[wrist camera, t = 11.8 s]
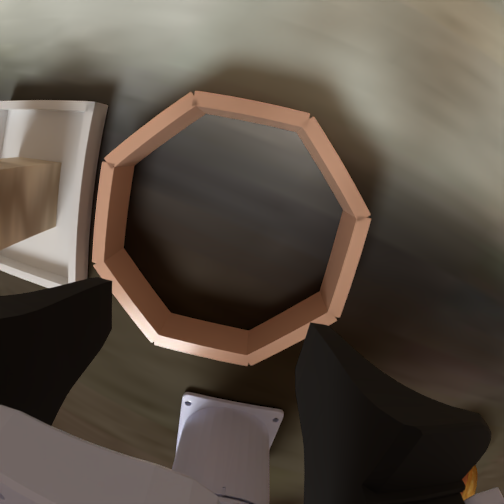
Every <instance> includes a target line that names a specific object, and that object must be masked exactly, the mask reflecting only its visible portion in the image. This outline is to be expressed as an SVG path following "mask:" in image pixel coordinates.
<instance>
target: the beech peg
mask: <svg viewBox="0 0 504 504" xmlns="http://www.w3.org/2000/svg"><path fill="white" fill-rule="evenodd" d="M61 164H62V163H61V162H53V161H46V160H38V159H30V158H22V157H13V158H2V159H0V250H2V249H4V248H7V247H9V246H11V245H13V244H16V243H18V242H20V241H23V240H25V239H27V238H29V237H32V236H34V235H37V234H39V233H41V232H44V231H46V230H49V229H51V228H54V227H56V216H57V202H58V190H59V181H60V172H61Z"/></svg>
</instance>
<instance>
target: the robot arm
mask: <svg viewBox="0 0 504 504" xmlns="http://www.w3.org/2000/svg"><path fill="white" fill-rule="evenodd" d="M111 329H112V281H110V280H107V279H103V278H99V277H96V278H89V279H84V280H80V281H76V282H72V283H68V284H64V285H60V286H57V287H52V288H48V289H43V290H39V291H35V292H29V293H23V294H16V295H8V296H0V504H269V449H270V447H271V445H272V443H273V440H274V438H275V436H276V433H277V431H278V429H279V426H280V424H281V422H282V419H283V417H284V412H283V411H282V410H281V409H276V408H269V407H263V406H257V405H251V404H245V403H240V402H234V401H229V400H224V399H219V398H214V397H210V396H205V395H201V394H196V393H192V392H185V393H184V394H183V397H182V405H181V413H180V421H179V429H178V437H177V446H176V455H175V459H174V463H173V467H172V470H171V469H169V468H166V467H164V466H161V465H159V464H155V463H152V462H148V461H145V460H141V459H138V458H134V457H131V456H128V455H125V454H122V453H119V452H116V451H113V450H110V449H107V448H104V447H101V446H99V445H96V444H93V443H91V442H88V441H85V440H83V439H80V438H78V437H75V436H73V435H71V434H68V433H66V432H64V431H61V430H59V429H57V428H55V427H52V426H51V425H52V423H53V421H54V419H55V417H56V415H57V413H58V411H59V409H60V407H61V405H62V403H63V401H64V400H65V398H66V396H67V394H68V393H69V391H70V390H71V388H72V387H73V385H74V384H75V383H76V381H77V380H78V379H79V377H80V376H81V375H82V373H83V372H84V371H85V369H86V368H87V367H88V365H89V364H90V363H91V361H92V360H93V359H94V357H95V356H96V355H97V353H98V352H99V351H100V349H101V348H102V346H103V344H104V342H105V341H106V339H107V337H108V335H109V333H110V331H111ZM295 391H296V398H297V404H298V411H299V417H300V423H301V429H302V435H303V443H304V465H305V481H304V504H504V498H503V496H502V494H501V492H500V490H499V489H498V488H493V489H490V490H487V491H484V492H481V493H478V494H475V495H472V496H470V497H469V498H467V499H465V500H463V498H462V495H461V492H463V491H464V490H465V487H466V486H465V484H464V482H463V480H462V479H463V478H464V477H465V476H466V474H467V473H468V472H469V471H470V470H471V469H472V468H473V467H474V465H475V464H476V463H477V462H478V461H479V459H480V458H481V457H482V456H483V454H484V453H485V451H486V450H487V448H488V445H489V443H490V440H491V431H490V429H489V427H488V426H487V424H486V423H485V421H484V420H483V418H482V417H481V415H480V414H478V413H475V412H471V411H467V410H463V409H460V408H456V407H452V406H449V405H446V404H444V403H441V402H438V401H436V400H433V399H431V398H428V397H426V396H424V395H422V394H420V393H418V392H416V391H414V390H412V389H410V388H408V387H406V386H404V385H402V384H401V383H399V382H397V381H396V380H394V379H393V378H391V377H389V376H388V375H386V374H385V373H383V372H382V371H381V370H379V369H378V368H376V367H375V366H374V365H373V364H371V363H370V362H369V361H368V360H366V359H365V358H364V357H363V356H362V355H360V354H359V353H358V352H357V351H356V350H355V349H354V348H353V347H351V346H350V345H349V344H348V343H347V342H346V341H345V340H344V339H343V338H342V337H341V336H339V335H338V334H337V333H336V332H335V331H334V330H333V329H332V328H330V327H329V326H327V325H324V324H318V323H311V322H310V325H309V328H308V331H307V334H306V337H305V341H304V344H303V347H302V350H301V353H300V356H299V359H298V362H297V365H296V368H295ZM187 401H189V402H190V403H188V402H187ZM274 418H278V419H274Z"/></svg>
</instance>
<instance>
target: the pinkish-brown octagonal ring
mask: <svg viewBox="0 0 504 504" xmlns="http://www.w3.org/2000/svg"><path fill="white" fill-rule="evenodd" d="M205 114H210V115H216V116H222V117H227V118H233V119H238V120H243V121H248V122H253V123H258V124H262V125H267V126H272V127H276V128H280V129H285V130H289V131H293V132H297V134H298V136H299V137H300V139H301V140H302V142H303V143H304V145H305V147H306V148H307V150H308V151H309V153H310V155H311V156H312V158H313V160H314V161H315V163H316V164H317V166H318V168H319V169H320V171H321V173H322V174H323V176H324V178H325V180H326V181H327V183H328V185H329V186H330V188H331V190H332V192H333V193H334V195H335V197H336V199H337V200H338V202H339V204H340V206H341V207H342V209H343V212H342V215H341V219H340V223H339V226H338V230H337V234H336V237H335V241H334V244H333V248H332V251H331V255H330V258H329V262H328V265H327V268H326V272H325V275H324V278H323V281H322V285H321V288H320V291H319V292H317V293H316V294H314V295H312V296H310V297H309V298H307V299H305V300H303V301H302V302H300V303H298V304H296V305H294V306H293V307H291V308H289V309H287V310H286V311H284V312H282V313H280V314H278V315H277V316H275V317H273V318H271V319H269V320H267V321H266V322H264V323H262V324H260V325H258V326H256V327H254V328H253V329H251V330H244V329H239V328H234V327H230V326H225V325H221V324H216V323H212V322H207V321H203V320H199V319H194V318H190V317H186V316H182V315H178V314H174V313H171V312H170V311H169V310H168V308H167V307H166V306H165V304H164V303H163V302H162V300H161V299H160V298H159V296H158V295H157V294H156V292H155V291H154V290H153V288H152V287H151V286H150V284H149V283H148V281H147V280H146V279H145V277H144V276H143V275H142V273H141V272H140V270H139V269H138V268H137V266H136V265H135V263H134V262H133V260H132V259H131V258H130V256H129V255H128V253H127V252H126V250H125V249H124V240H125V230H126V222H127V214H128V206H129V199H130V192H131V185H132V178H133V172H134V166H135V165H136V164H137V163H138V162H140V161H141V160H142V159H144V158H145V157H146V156H148V155H149V154H150V153H151V152H153V151H154V150H155V149H157V148H158V147H159V146H161V145H162V144H163V143H165V142H166V141H168V140H169V139H170V138H172V137H173V136H174V135H176V134H177V133H179V132H180V131H182V130H183V129H184V128H186V127H187V126H189V125H190V124H192V123H193V122H195V121H196V120H197V119H199V118H200V117H202V116H203V115H205ZM309 116H310V113H307V112H303V111H299V110H295V109H291V108H286V107H282V106H278V105H273V104H269V103H264V102H259V101H254V100H249V99H244V98H239V97H233V96H227V95H221V94H215V93H209V92H202V91H195V94H193V93H192V92H190V93H188V94H187V95H185V96H184V97H182V98H181V99H179V100H178V101H177V102H175V103H174V104H172V105H171V106H169V107H168V108H167V109H165V110H164V111H163V112H161V113H160V114H158V115H157V116H156V117H154V118H153V119H152V120H150V121H149V122H148V123H147V124H145V125H144V126H143V127H141V128H140V129H139V130H138V131H136V132H135V133H134V134H132V135H131V136H130V137H129V138H127V139H126V140H125V141H124V142H123V143H121V144H120V145H119V146H118V147H117V148H115V149H114V150H113V151H112V152H111V153H109V154H108V155H107V156H106V157H105V158H104V159H105V160H106V162H102V166H101V173H100V180H99V187H98V196H97V204H96V214H95V225H94V237H93V253H92V262H94V263H96V264H95V265H93V266H94V268H95V269H96V271H97V272H98V273H99V275H100V276H101V278H103V279H107V280H110V281H112V293H113V294H114V296H115V297H116V298H117V300H118V301H119V302H120V304H121V305H122V306H123V308H124V309H125V310H126V312H127V313H128V314H129V316H130V317H131V318H132V319H133V321H134V322H135V323H136V325H137V326H138V327H139V328H140V330H141V331H142V332H143V333H144V335H145V336H146V337H147V338H148V339H149V341H150V342H151V343H152V342H153V341H155V342H154V345H157V346H161V347H165V348H168V349H172V350H176V351H180V352H184V353H188V354H193V355H197V356H201V357H205V358H210V359H214V360H219V361H223V362H228V363H233V364H238V365H243V366H248V363H249V364H250V365H251V366H252V365H254V364H256V363H258V362H260V361H262V360H264V359H266V358H268V357H270V356H272V355H274V354H276V353H278V352H280V351H282V350H284V349H286V348H288V347H290V346H292V345H294V344H296V343H297V342H299V341H301V340H303V339H305V337H306V334H307V331H308V328H309V325H310V322H311V323H318V324H324V325H327V326H329V325H330V324H332V323H334V322H336V321H337V319H336V317H339V318H340V316H341V313H342V310H343V307H344V304H345V302H346V299H347V296H348V293H349V290H350V287H351V284H352V281H353V278H354V275H355V272H356V269H357V265H358V262H359V259H360V256H361V253H362V249H363V246H364V243H365V239H366V236H367V232H368V229H369V225H370V222H371V218H369V217H368V216H369V215H371V214H370V212H369V210H368V208H367V206H366V204H365V202H364V201H363V199H362V197H361V195H360V193H359V191H358V189H357V188H356V186H355V184H354V182H353V180H352V179H351V177H350V175H349V173H348V171H347V170H346V168H345V166H344V165H343V163H342V161H341V159H340V158H339V156H338V154H337V153H336V151H335V149H334V148H333V146H332V144H331V143H330V141H329V139H328V138H327V136H326V134H325V133H324V131H323V130H322V128H321V126H320V125H319V123H318V122H317V120H316V119H315V117H314V116H313V117H312V118H310V119H309Z"/></svg>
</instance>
